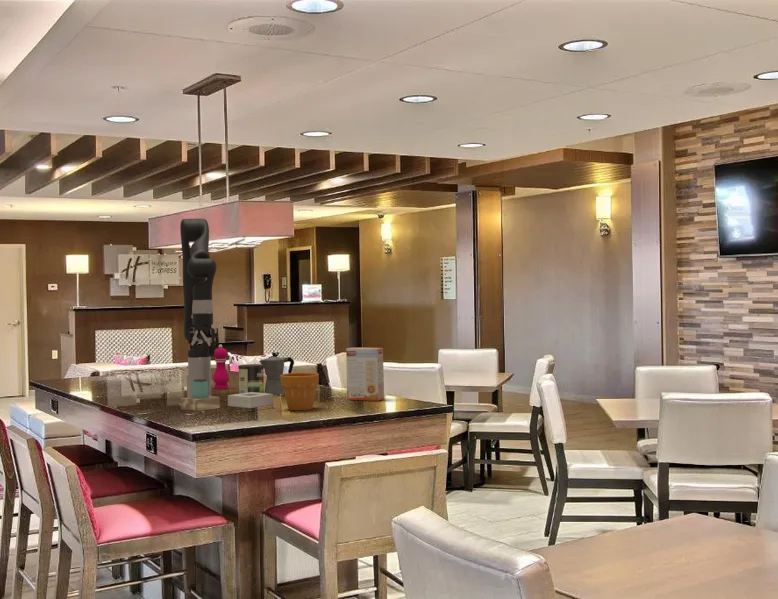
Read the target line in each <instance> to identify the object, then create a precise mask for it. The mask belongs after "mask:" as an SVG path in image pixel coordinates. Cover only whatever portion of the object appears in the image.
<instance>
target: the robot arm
mask: <svg viewBox="0 0 778 599" xmlns="http://www.w3.org/2000/svg"><path fill="white" fill-rule="evenodd" d="M179 228H180V232H179V233H180V242H181V254H182V288H183V289H182V291H183V336H184V339H185V340H186V341H187V343H188V344H189V345H191V347H192V348H191V349H189V350H188V351H187V367H188V368H187V370H188V371H187V372H188V374H187V375H186V397H193V395H192V382H194V379H206V381H208V396H212V362H211V361H212V358H211V357H215V356H214V354H215V350H216V349H215V346H216V345H220V344H219V343H220V339H219V328H218V327H212V325H213V324H214V304H213V284H214V279H215V275H216V271H217V262H216V261H215V259H213V258H211V256H210V251H209V250H210V249H209V243H210V228H209V222H208V221H207V219H205V218H197V217H196V218H182V219H181V221H180V227H179ZM191 242H192V244H191V246H190V243H191ZM201 341H202V343H201V344H200V342H201ZM199 344H200V345H199Z"/></svg>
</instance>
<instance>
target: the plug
mask: <svg viewBox="0 0 778 599" xmlns="http://www.w3.org/2000/svg"><path fill="white" fill-rule="evenodd" d="M192 395H193V398H196V399H202V398H208V381H206V379H194V382H192Z"/></svg>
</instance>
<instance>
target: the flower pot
mask: <svg viewBox="0 0 778 599" xmlns="http://www.w3.org/2000/svg"><path fill="white" fill-rule="evenodd" d="M319 375H320V374H319V373H318V372H317V373H316V372H291V373H288V372H287V373H283V374H282V375H281V385H282V386H283V388H284V392H285V395H284V396H285V400H286V404H287V408H288V410H289V409H290V410H289V411H293V410H304V411H310V410H312V409H313V406H314V401H315V396H316V391H317V386H318V385H319V383H320V382H319V381H320V376H319Z"/></svg>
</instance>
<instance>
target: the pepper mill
mask: <svg viewBox="0 0 778 599" xmlns="http://www.w3.org/2000/svg"><path fill="white" fill-rule="evenodd" d="M214 351H215V354H214V356H213V357H214V358H215V359H214V360H215V361H214V362H215V363H216V364H215V365H216V367H215V370H214V373H213V377H212V381H213V382H214V385H213V389H214V388H215V389H214V390H225V389H224V388H228V389H229V384H228V383H229V381H230V376H229V373H228V371H227V368H226V363H227V356H228V351H227V349H226V348H224V347H223V345H222V344H218V348H216V349H215V350H214Z"/></svg>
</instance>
